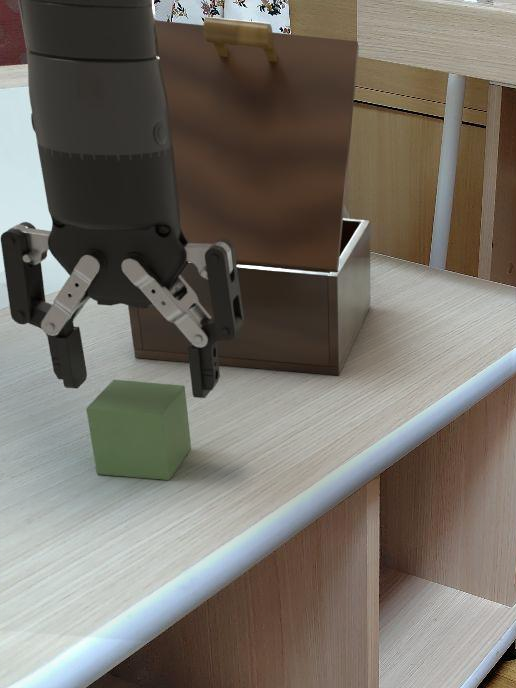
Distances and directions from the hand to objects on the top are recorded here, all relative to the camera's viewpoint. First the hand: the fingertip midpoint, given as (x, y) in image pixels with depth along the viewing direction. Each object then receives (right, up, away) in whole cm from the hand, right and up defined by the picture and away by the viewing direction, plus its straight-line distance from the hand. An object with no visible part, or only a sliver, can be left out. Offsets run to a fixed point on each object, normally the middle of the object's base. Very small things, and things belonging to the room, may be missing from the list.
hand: (139, 388), depth 67 cm
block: (-1, -5, +3) cm, 6 cm away
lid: (+3, +22, +15) cm, 27 cm away
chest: (+1, +10, +26) cm, 28 cm away
